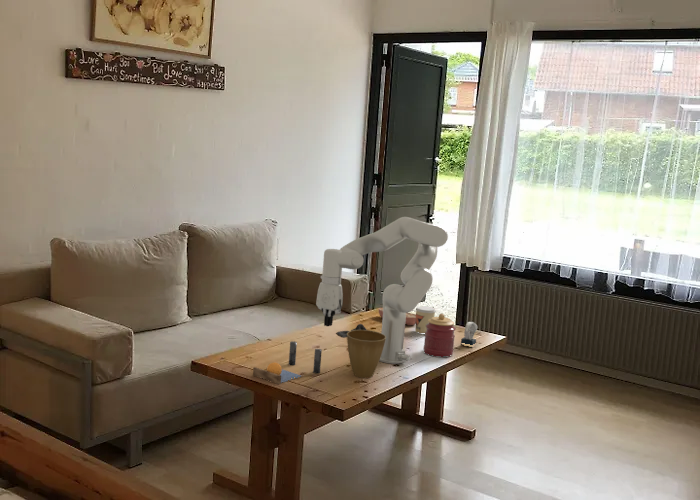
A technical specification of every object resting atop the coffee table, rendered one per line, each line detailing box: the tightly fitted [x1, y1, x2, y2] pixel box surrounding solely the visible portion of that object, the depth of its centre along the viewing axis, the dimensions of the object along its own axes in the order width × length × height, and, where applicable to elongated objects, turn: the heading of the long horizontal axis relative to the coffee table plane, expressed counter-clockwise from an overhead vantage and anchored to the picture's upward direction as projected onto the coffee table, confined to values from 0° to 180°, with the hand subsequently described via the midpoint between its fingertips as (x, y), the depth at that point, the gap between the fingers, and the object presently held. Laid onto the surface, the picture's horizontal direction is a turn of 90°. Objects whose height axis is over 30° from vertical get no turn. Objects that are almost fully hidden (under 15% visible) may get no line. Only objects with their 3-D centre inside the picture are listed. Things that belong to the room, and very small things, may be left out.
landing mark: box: [280, 368, 302, 384], centre depth 284 cm, size 12×12×1 cm
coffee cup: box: [415, 305, 436, 333], centre depth 364 cm, size 9×9×12 cm
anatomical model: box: [378, 307, 416, 326], centre depth 382 cm, size 23×10×5 cm, turn 50°
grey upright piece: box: [460, 321, 478, 345], centre depth 347 cm, size 6×8×11 cm
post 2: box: [312, 348, 323, 374], centre depth 291 cm, size 3×3×9 cm
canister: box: [423, 313, 456, 358], centre depth 330 cm, size 13×13×18 cm
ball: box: [266, 362, 283, 375], centre depth 282 cm, size 6×6×6 cm
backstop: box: [252, 366, 282, 385], centre depth 278 cm, size 13×1×3 cm, turn 53°
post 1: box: [288, 340, 298, 366], centre depth 298 cm, size 3×3×9 cm
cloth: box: [335, 323, 367, 339], centre depth 349 cm, size 22×19×6 cm
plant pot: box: [346, 329, 386, 379], centre depth 291 cm, size 15×15×16 cm
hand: (328, 325), depth 303 cm, fingers closed
